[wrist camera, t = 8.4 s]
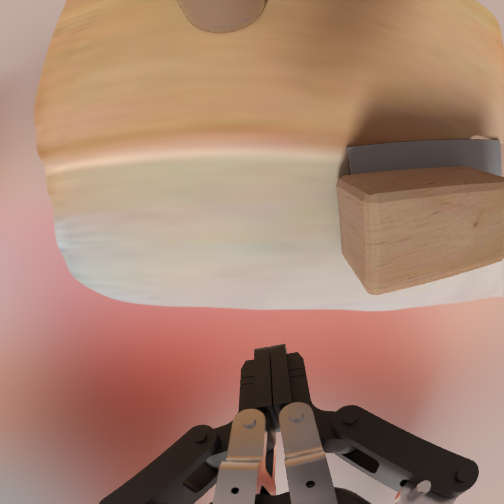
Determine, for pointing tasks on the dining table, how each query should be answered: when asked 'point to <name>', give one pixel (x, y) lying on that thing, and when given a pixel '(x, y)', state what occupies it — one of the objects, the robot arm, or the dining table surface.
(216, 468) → the robot arm
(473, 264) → the wooden block
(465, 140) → the rubber mat
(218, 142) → the dining table surface
